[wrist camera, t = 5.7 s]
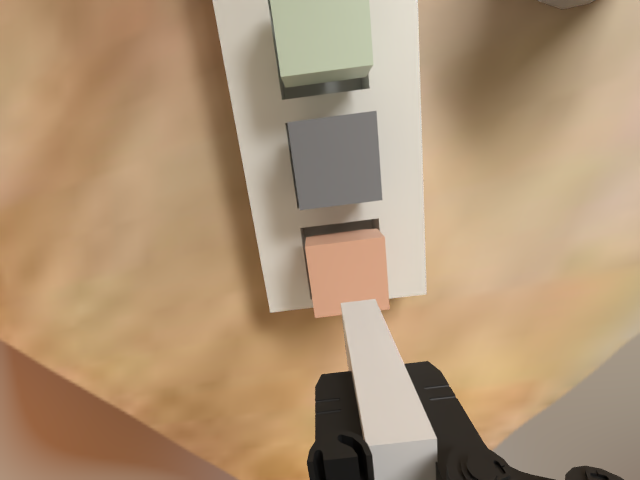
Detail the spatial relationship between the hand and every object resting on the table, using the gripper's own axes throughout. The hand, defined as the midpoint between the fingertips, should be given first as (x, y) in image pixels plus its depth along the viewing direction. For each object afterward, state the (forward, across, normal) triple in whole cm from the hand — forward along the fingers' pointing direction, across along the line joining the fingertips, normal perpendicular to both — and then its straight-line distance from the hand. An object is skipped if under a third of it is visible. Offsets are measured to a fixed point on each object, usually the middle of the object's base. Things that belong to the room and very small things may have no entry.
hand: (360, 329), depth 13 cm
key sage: (+10, 0, +14) cm, 17 cm away
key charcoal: (+10, 0, +7) cm, 12 cm away
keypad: (+13, 0, +11) cm, 16 cm away
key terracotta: (+10, 0, 0) cm, 10 cm away
